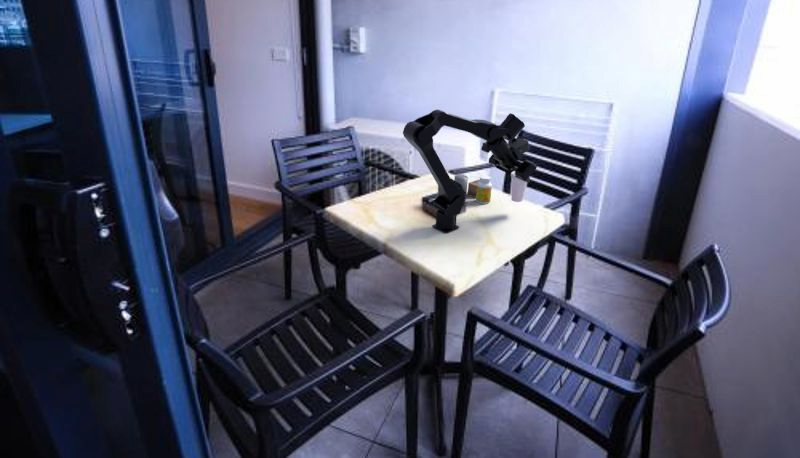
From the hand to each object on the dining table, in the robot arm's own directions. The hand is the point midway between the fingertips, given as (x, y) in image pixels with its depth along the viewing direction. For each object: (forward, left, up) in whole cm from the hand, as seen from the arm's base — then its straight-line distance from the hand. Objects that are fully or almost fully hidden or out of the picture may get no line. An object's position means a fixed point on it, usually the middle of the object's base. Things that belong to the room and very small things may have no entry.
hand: (522, 178), depth 163 cm
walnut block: (+3, +21, -13) cm, 25 cm away
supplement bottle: (-1, +15, -13) cm, 20 cm away
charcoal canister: (-4, +24, -13) cm, 27 cm away
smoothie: (-2, 0, -8) cm, 8 cm away
